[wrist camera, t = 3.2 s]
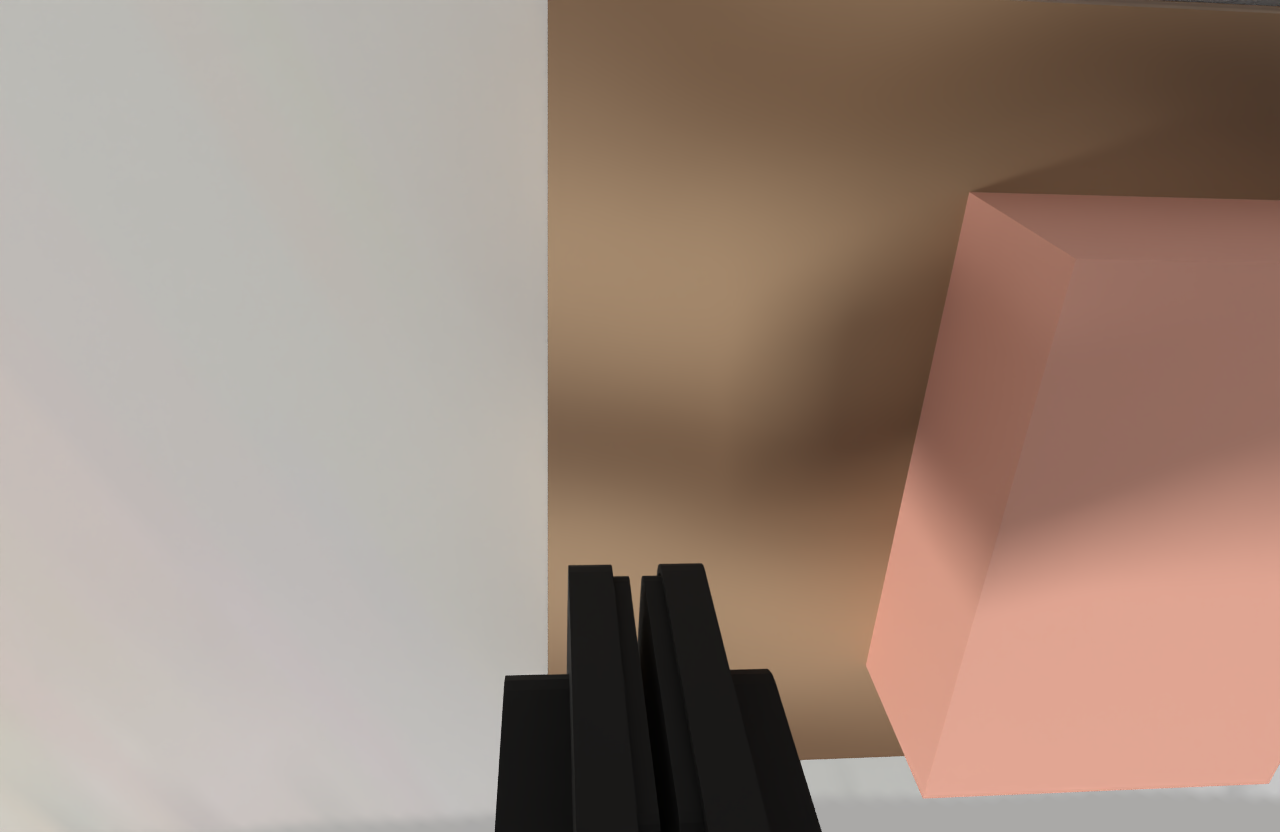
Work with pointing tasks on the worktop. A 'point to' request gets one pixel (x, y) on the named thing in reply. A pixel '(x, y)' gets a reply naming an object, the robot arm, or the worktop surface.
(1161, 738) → the pink rectangular block
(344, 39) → the worktop surface
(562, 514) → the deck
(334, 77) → the worktop surface
